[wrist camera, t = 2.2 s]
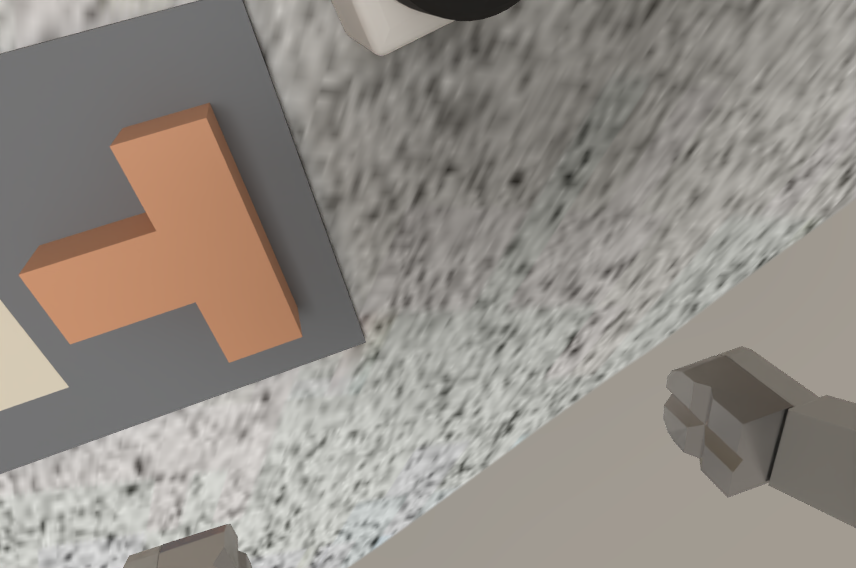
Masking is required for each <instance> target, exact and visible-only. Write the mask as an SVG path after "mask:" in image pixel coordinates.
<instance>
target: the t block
mask: <svg viewBox="0 0 856 568" xmlns="http://www.w3.org/2000/svg"><path fill="white" fill-rule="evenodd" d="M110 148H111V150H112V152H113V153H114V155H115V157H116V159H117V161H118V162H119V164H120V166H121V168H122V170H123V172H124V173H125V175H126V177H127V179H128V181H129V182H130V184H131V186H132V188H133V190H134V191H135V193H136V195H137V197H138V199H139V201H140V202H141V204H142V206H143V208H144V210H145V211H146V212H145V213H142V214H139V215H135V216H132V217H129V218H126V219H123V220H119V221H116V222H113V223H110V224H107V225H103V226H100V227H97V228H94V229H91V230H87V231H84V232H81V233H78V234H75V235H71V236H68V237H65V238H62V239H59V240H55V241H52V242H49V243H46V244H43V245H39V246H38V248H37V249H36V251H35V252H34V253H33V255H32V256H31V258H30V259H29V261H28V262H27V263H26V265H25V266H24V268H23V269H22V270H21V272H20V273H19V277H20V278H21V279H22V281H23V282H24V283H25V285H26V286H27V287H28V289H29V290H30V291H31V293H32V294H33V295H34V297H35V298H36V299H37V301H38V302H39V303H40V305H41V306H42V307H43V309H44V310H45V312H46V313H47V314H48V316H49V317H50V318H51V320H52V321H53V322H54V324H55V325H56V326H57V328H58V329H59V330H60V332H61V333H62V334H63V336H64V337H65V338H66V340H67V341H68V342H69V344H73V343H76V342H79V341H82V340H85V339H88V338H91V337H94V336H97V335H100V334H103V333H106V332H109V331H112V330H115V329H118V328H121V327H124V326H127V325H129V324H132V323H135V322H138V321H141V320H144V319H147V318H150V317H153V316H156V315H159V314H162V313H165V312H168V311H171V310H174V309H177V308H180V307H183V306H186V305H189V304H192V303H195V302H196V304H197V306H198V308H199V309H200V311H201V313H202V315H203V317H204V318H205V320H206V322H207V324H208V326H209V327H210V329H211V331H212V333H213V335H214V337H215V338H216V340H217V342H218V344H219V346H220V347H221V349H222V351H223V353H224V355H225V356H226V358H227V360H228V362H229V363H230V362H233V361H236V360H239V359H241V358H244V357H247V356H250V355H253V354H256V353H258V352H261V351H264V350H267V349H270V348H272V347H275V346H278V345H281V344H284V343H287V342H289V341H292V340H295V339H298V338H301V337H302V331H301V325H300V319H299V313H298V307H297V305H296V303H295V301H294V298H293V296H292V294H291V291H290V289H289V287H288V284H287V282H286V280H285V277H284V275H283V273H282V270H281V268H280V266H279V263H278V261H277V259H276V256H275V254H274V252H273V249H272V247H271V245H270V242H269V240H268V238H267V235H266V233H265V231H264V228H263V226H262V224H261V221H260V219H259V217H258V214H257V212H256V210H255V207H254V205H253V203H252V200H251V198H250V196H249V193H248V191H247V189H246V186H245V184H244V182H243V179H242V177H241V175H240V173H239V170H238V168H237V166H236V163H235V161H234V159H233V156H232V154H231V152H230V149H229V147H228V145H227V142H226V140H225V138H224V135H223V133H222V131H221V128H220V126H219V124H218V121H217V119H216V117H215V114H214V112H213V110H212V107H211V105H210V103H207V104H203V105H200V106H196V107H193V108H190V109H186V110H183V111H179V112H176V113H173V114H169V115H166V116H162V117H159V118H155V119H152V120H149V121H145V122H142V123H138V124H135V125H131V126H128V127H125V128H122V129H121V131H120V132H119V134H118V135H117V137H116V138H115V139H114V141H113V142H112V144H111V145H110Z"/></svg>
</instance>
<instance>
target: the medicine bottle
mask: <svg viewBox="0 0 856 568" xmlns="http://www.w3.org/2000/svg"><path fill="white" fill-rule="evenodd" d="M331 1H332V3H333V5H334V8H335V10H336V12H337V14H338V17H339V19H340V21H341V23H342V26H343V28H344V30H345V32H346V33H347V35H348V36H350V37H351V38H353V39H354V40H355V41H357V42H358V43H360V44H361V45H363V46H364V47H366V48H367V49H369V50H370V51H371V52H373V53H374V54H376V55H379V56H384V55H387V54H389V53H391V52H393V51H395V50H397V49H399V48H401V47H403V46H405V45H407V44H409V43H411V42H413V41H415V40H417V39H419V38H421V37H423V36H425V35H427V34H429V33H431V32H433V31H435V30H437V29H439V28H441V27H443V26H445V25H447V24H449V23H451V22H453V21H473V20H480V19H485V18H488V17H491V16H494V15H497V14H499V13H501V12H503V11H505V10H507V9H508V8H510V7H511V6H513V5H514V4H516V3H517V2H519V1H520V0H331Z"/></svg>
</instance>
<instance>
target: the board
mask: <svg viewBox="0 0 856 568" xmlns="http://www.w3.org/2000/svg"><path fill="white" fill-rule="evenodd" d="M207 103H210V105H211V107H212V110H213V112H214V114H215V117H216V119H217V121H218V124H219V126H220V128H221V131H222V133H223V135H224V138H225V140H226V142H227V145H228V147H229V149H230V152H231V154H232V156H233V159H234V161H235V163H236V166H237V168H238V170H239V173H240V175H241V177H242V179H243V182H244V184H245V186H246V189H247V191H248V193H249V196H250V198H251V200H252V203H253V205H254V207H255V210H256V212H257V214H258V217H259V219H260V221H261V224H262V226H263V228H264V231H265V233H266V235H267V238H268V240H269V242H270V245H271V247H272V249H273V252H274V254H275V256H276V259H277V261H278V263H279V266H280V268H281V270H282V273H283V275H284V277H285V280H286V282H287V284H288V287H289V289H290V291H291V294H292V296H293V298H294V301H295V303H296V305H297V307H298V313H299V319H300V325H301V331H302V337H301V338H298V339H295V340H292V341H289V342H287V343H284V344H281V345H278V346H275V347H272V348H270V349H267V350H264V351H261V352H258V353H256V354H253V355H250V356H247V357H244V358H241V359H239V360H236V361H233V362H230V363H229V362H228V360H227V358H226V356H225V355H224V353H223V351H222V349H221V347H220V346H219V344H218V342H217V340H216V338H215V337H214V335H213V333H212V331H211V329H210V327H209V326H208V324H207V322H206V320H205V318H204V317H203V315H202V313H201V311H200V309H199V308H198V306H197V304H196V302H195V303H192V304H189V305H186V306H183V307H180V308H177V309H174V310H171V311H168V312H165V313H162V314H159V315H156V316H153V317H150V318H147V319H144V320H141V321H138V322H135V323H132V324H129V325H127V326H124V327H121V328H118V329H115V330H112V331H109V332H106V333H103V334H100V335H97V336H94V337H91V338H88V339H85V340H82V341H79V342H76V343H73V344H69V342H68V341H67V340H66V338H65V337H64V336H63V334H62V333H61V332H60V330H59V329H58V328H57V326H56V325H55V324H54V322H53V321H52V320H51V318H50V317H49V316H48V314H47V313H46V312H45V310H44V309H43V307H42V306H41V305H40V303H39V302H38V301H37V299H36V298H35V297H34V295H33V294H32V293H31V291H30V290H29V289H28V287H27V286H26V285H25V283H24V282H23V281H22V279H21V278H20V277H19V273H20V272H21V270H22V269H23V268H24V266H25V265H26V263H27V262H28V261H29V259H30V258H31V256H32V255H33V253H34V252H35V251H36V249H37V248H38V246H39V245H43V244H46V243H49V242H52V241H55V240H59V239H62V238H65V237H68V236H71V235H75V234H78V233H81V232H84V231H87V230H91V229H94V228H97V227H100V226H103V225H107V224H110V223H113V222H116V221H119V220H123V219H126V218H129V217H132V216H135V215H139V214H142V213H145V212H146V211H145V210H144V208H143V206H142V204H141V202H140V201H139V199H138V197H137V195H136V193H135V191H134V190H133V188H132V186H131V184H130V182H129V181H128V179H127V177H126V175H125V173H124V172H123V170H122V168H121V166H120V164H119V162H118V161H117V159H116V157H115V155H114V153H113V152H112V150H111V148H110V145H111V144H112V142H113V141H114V139H115V138H116V137H117V135H118V134H119V132H120V131H121V129H122V128H125V127H128V126H131V125H135V124H138V123H142V122H145V121H149V120H152V119H155V118H159V117H162V116H166V115H169V114H173V113H176V112H179V111H183V110H186V109H190V108H193V107H196V106H200V105H203V104H207ZM363 343H366V341H365V338H364V336H363V333H362V330H361V327H360V324H359V322H358V319H357V316H356V313H355V311H354V308H353V305H352V302H351V300H350V297H349V294H348V291H347V288H346V286H345V283H344V280H343V277H342V275H341V272H340V269H339V266H338V264H337V261H336V258H335V255H334V252H333V250H332V247H331V244H330V241H329V239H328V236H327V233H326V230H325V228H324V225H323V222H322V219H321V216H320V214H319V211H318V208H317V205H316V203H315V200H314V197H313V194H312V192H311V189H310V186H309V183H308V180H307V178H306V175H305V172H304V169H303V167H302V164H301V161H300V158H299V155H298V153H297V150H296V147H295V144H294V142H293V139H292V136H291V133H290V131H289V128H288V125H287V122H286V119H285V117H284V114H283V111H282V108H281V106H280V103H279V100H278V97H277V95H276V92H275V89H274V86H273V83H272V81H271V78H270V75H269V72H268V70H267V67H266V64H265V61H264V59H263V56H262V53H261V50H260V47H259V45H258V42H257V39H256V36H255V34H254V31H253V28H252V25H251V23H250V20H249V17H248V14H247V11H246V9H245V6H244V3H243V0H199V1H196V2H192V3H188V4H184V5H181V6H177V7H173V8H170V9H166V10H162V11H158V12H155V13H151V14H147V15H143V16H140V17H136V18H132V19H128V20H125V21H121V22H117V23H114V24H110V25H106V26H102V27H99V28H95V29H91V30H87V31H84V32H80V33H76V34H73V35H69V36H65V37H61V38H58V39H54V40H50V41H46V42H43V43H39V44H35V45H31V46H28V47H24V48H20V49H17V50H13V51H9V52H5V53H2V54H0V474H2V473H4V472H7V471H10V470H13V469H16V468H18V467H21V466H24V465H27V464H29V463H32V462H35V461H38V460H41V459H43V458H46V457H49V456H52V455H54V454H57V453H60V452H63V451H66V450H68V449H71V448H74V447H77V446H79V445H82V444H85V443H88V442H91V441H93V440H96V439H99V438H102V437H104V436H107V435H110V434H113V433H116V432H118V431H121V430H124V429H127V428H129V427H132V426H135V425H138V424H141V423H143V422H146V421H149V420H152V419H154V418H157V417H160V416H163V415H166V414H168V413H171V412H174V411H177V410H179V409H182V408H185V407H188V406H191V405H193V404H196V403H199V402H202V401H204V400H207V399H210V398H213V397H216V396H218V395H221V394H224V393H227V392H229V391H232V390H235V389H238V388H241V387H243V386H246V385H249V384H252V383H255V382H257V381H260V380H263V379H266V378H268V377H271V376H274V375H277V374H280V373H282V372H285V371H288V370H291V369H293V368H296V367H299V366H302V365H305V364H307V363H310V362H313V361H316V360H318V359H321V358H324V357H327V356H330V355H332V354H335V353H338V352H341V351H343V350H346V349H349V348H352V347H355V346H357V345H360V344H363Z"/></svg>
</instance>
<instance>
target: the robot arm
mask: <svg viewBox="0 0 856 568" xmlns="http://www.w3.org/2000/svg"><path fill="white" fill-rule="evenodd" d="M666 387H667V389H668V390H669V391H670V392H671V393H672V394H671V396H670V397H669V399H668V400H667V402H666V403H665V405H664V421H665V425H666V427H667V430H668V433H669V434H670V436H671V438H672V439H673V441H674V442H675V443H676V444H677V445H678V447H679V448H680V449H681V450H682V451H683V452H685V453H687V454H690V455H693V456H695V457H697V458H699V459H700V467H701V471H702V472H703V473H704V474H705V475H706V476H707V477H708V478H709V479H710V480H711V481H712V482H713V483H714V484H715V485H716V486H717V487H718V488H719V489H720V490H721V491H722V492H723V493H724V494H725V495H726V496H727V497H731V496H733V495H736V494H739V493H741V492H744V491H747V490H749V489H752V488H755V487H758V486H761V485H763V484H766V483H769V486H771V487H773V488H775V489H777V490H779V491H781V492H783V493H785V494H787V495H789V496H791V497H794V498H796V499H798V500H800V501H802V502H804V503H806V504H808V505H810V506H812V507H814V508H816V509H818V510H820V511H822V512H825V513H826V514H829V515H831V516H833V517H835V518H837V519H839V520H841V521H843V522H845V523H847V524H849V525H851V526H853V527H855V528H856V403H853V402H849V401H846V400H842V399H839V398H835V397H832V396H828V395H825V396H822V397H818V396H817V395H815V394H814V393H813V392H811V391H810V390H808V389H806V388H805V387H804V386H803V385H801V384H800V383H798V382H797V381H795V380H794V379H793V378H791V377H790V376H788V375H787V374H786V373H784V372H783V371H781V370H780V369H778V368H777V367H776V366H774V365H773V364H771V363H770V362H768V361H767V360H766V359H764V358H763V357H761V356H760V355H758V354H757V353H756V352H754V351H753V350H751V349H749V348H746V347H738V348H735V349H732V350H730V351H727V352H724V353H721V354H718V355H717V356H711V357H709V358H706V359H703V360H700V361H697V362H695V363H692V364H689V365H686V366H684V367H681V368H678V369H675V370H672V371H671V373H670V374H669V375H668V377H667V385H666ZM123 568H252V566H251V563H250V561H249V558H248V556H247V554H246V553H243V552H240V551H238V536H237V535H236V533H235V531H234V529H233V527H232V526H231V524H226V525H223V526H220V527H217V528H213V529H210V530H207V531H204V532H201V533H198V534H194V535H191V536H188V537H185V538H182V539H179V540H176V541H172V542H169V543H166V544H163V545H161V546H158V547H155V548H152V549H149V550H146V551H142V552H139V553H136V554H133V555H130V556H129V557H128V559H127V561H126V563H125V565H124V567H123Z"/></svg>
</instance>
